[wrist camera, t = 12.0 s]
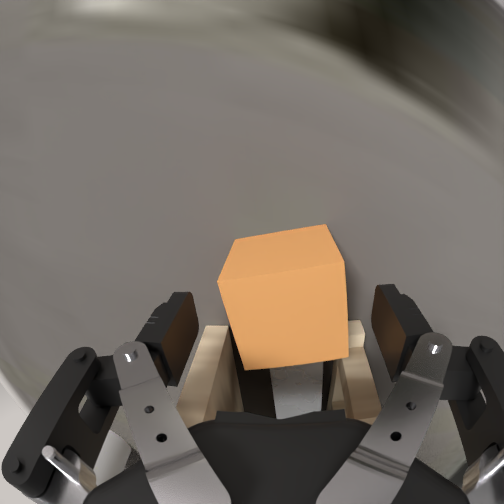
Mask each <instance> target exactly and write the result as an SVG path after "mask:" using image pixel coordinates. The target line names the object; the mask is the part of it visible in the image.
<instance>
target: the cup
mask: <svg viewBox="0 0 504 504" xmlns="http://www.w3.org/2000/svg"><path fill="white" fill-rule="evenodd" d="M130 452H131V447H130V446H129V444H128V443H127V442H126V441H125V440H124V439H123V438H121V437H120V436H119V435H117V434H116V433H114V432H113V431H111V430H109V432H108V434H107V437H106V439H105V442H104V444H103V446H102V449H101V451H100V454H99V456H98V459H97V461H96V464H95V467H94V469H93V471H94V472H95V475H96V485H97V486H98V485H100V484H102V483H104V482H105V481H107V480H109V479H111V478H112V477H114V476H116V475H117V474H119V473H121V472H122V471H123V469H124V467H125V465H126V462H127V460H128V457H129V455H130Z"/></svg>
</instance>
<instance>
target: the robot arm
mask: <svg viewBox="0 0 504 504" xmlns="http://www.w3.org/2000/svg"><path fill="white" fill-rule="evenodd" d="M371 322H372V328H373V331H374V334H375V336H376V339H377V342H378V344H379V347H380V350H381V352H382V355H383V358H384V360H385V363H386V366H387V369H388V372H389V375H390V378H391V380H392V382H396V381H397V383H396V385H395V386H394V388H393V390H392V392H391V394H390V396H389V397H388V399H387V401H386V403H385V404H384V406H383V408H382V410H381V411H380V413H379V415H378V416H377V418H376V420H375V421H374V423H373V424H372V425H370V424H368V423H366V422H363V421H360V420H357V419H352V418H346V415H345V409H339V410H327V411H313V412H310V413H306V414H302V415H298V416H294V417H289V418H285V419H275V418H270V417H266V416H261V415H257V414H252V413H248V412H228V411H217V413H216V417H215V419H214V420H208V421H204V422H201V423H198V424H195V425H193V426H191V427H189V428H187V427H186V426H185V424H184V422H183V420H182V418H181V416H180V415H179V413H178V411H177V409H176V407H175V405H174V403H173V401H172V399H171V397H170V395H169V393H168V391H167V389H166V388H167V385H168V386H176V387H177V386H178V383H179V381H180V378H181V376H182V373H183V370H184V368H185V365H186V363H187V360H188V358H189V355H190V352H191V350H192V347H193V345H194V342H195V340H196V337H197V335H198V330H199V323H198V317H197V313H196V309H195V304H194V300H193V296H192V293H191V292H174V293H173V294H172V296H171V297H170V299H169V300H168V302H167V303H163V304H161V305H160V306H159V307H157V308H156V309H155V310H154V312H153V313H152V315H151V318H149V319H148V321H147V323H146V324H145V325H144V327H143V329H142V330H141V332H140V333H139V335H138V336H137V338H136V339H135V341H132V342H128V343H125V344H123V345H121V346H119V347H118V348H117V349H116V350H115V352H114V354H113V355H111V356H102V357H97V355H96V353H95V351H94V350H93V349H92V348H90V347H81V348H78V349H76V350H74V351H73V352H71V353H70V354H69V355H68V357H67V358H66V359H65V361H64V362H63V364H62V365H61V366H60V368H59V369H58V371H57V372H56V374H55V375H54V377H53V378H52V380H51V381H50V383H49V384H48V386H47V387H46V389H45V390H44V392H43V393H42V395H41V396H40V398H39V399H38V401H37V402H36V404H35V406H34V407H33V409H32V410H31V412H30V414H29V415H28V417H27V419H26V420H25V422H24V424H23V425H22V427H21V429H20V431H19V432H18V434H17V436H16V438H15V439H14V441H13V443H12V444H11V447H10V448H9V450H8V452H7V454H6V456H5V458H4V459H3V462H2V474H3V476H4V478H5V479H6V481H7V482H9V483H10V484H11V485H13V486H14V487H15V488H17V489H18V490H19V491H21V492H22V493H23V494H24V495H25V496H26V497H28V498H29V499H31V500H33V501H34V502H36V503H37V504H504V352H503V351H502V349H501V348H500V346H499V345H498V343H497V342H496V341H495V340H493V339H492V338H490V337H487V336H477V337H475V338H474V339H473V340H472V341H471V344H470V346H469V347H461V346H452V343H451V341H450V340H449V339H448V338H447V337H446V336H444V335H442V334H440V333H435V332H433V330H432V329H431V327H430V326H429V324H428V322H427V321H426V319H425V318H424V316H423V314H421V311H420V310H419V308H418V307H417V305H416V304H415V302H414V301H413V300H412V299H411V298H409V297H408V296H407V295H405V294H400V293H399V291H398V290H397V288H396V287H395V285H394V284H385V285H377V286H376V289H375V295H374V303H373V309H372V316H371ZM481 389H482V391H483V393H484V395H485V397H486V403H485V401H484V399H483V396H482V394H481V392H480V390H481ZM84 395H86V396H87V400H86V402H85V404H84V406H83V408H82V410H81V411H80V413H79V412H78V407H79V404H80V402H81V400H82V398H83V397H84ZM439 400H448V402H449V405H450V407H451V410H452V413H453V416H454V419H455V422H456V425H457V428H458V431H459V435H460V438H461V441H462V444H463V448H464V451H465V455H466V459H467V463H468V467H469V468H468V469H467V470H466V472H465V474H464V477H463V486H462V489H460V488H459V487H458V486H456V485H455V484H453V483H452V482H450V481H449V480H447V479H446V478H444V477H443V476H442V475H440V474H439V473H437V472H436V471H434V470H433V469H431V468H430V467H429V466H427V465H426V464H424V463H423V462H421V461H420V460H419V459H417V458H416V457H415V456H416V454H417V452H418V450H419V448H420V446H421V444H422V441H423V439H424V437H425V435H426V432H427V430H428V428H429V425H430V423H431V420H432V418H433V415H434V413H435V410H436V407H437V404H438V402H439ZM119 406H123V408H124V411H125V414H126V418H127V421H128V424H129V427H130V430H131V432H132V435H133V438H134V441H135V444H136V446H137V449H138V451H139V454H140V457H141V460H140V461H138V462H137V463H135V464H134V465H132V466H130V467H129V468H127V469H126V470H124V471H122V472H121V473H119V474H117V475H116V476H114V477H112V478H111V479H109V480H107V481H105V482H104V483H102V484H100V485H98V486H97V485H96V475H95V472H94V471H93V469H94V467H95V464H96V461H97V459H98V456H99V454H100V451H101V449H102V446H103V444H104V442H105V439H106V437H107V434H108V432H109V430H110V427H111V425H112V423H113V420H114V418H115V416H116V413H117V411H118V409H119Z"/></svg>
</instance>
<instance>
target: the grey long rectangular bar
mask: <svg viewBox="0 0 504 504" xmlns="http://www.w3.org/2000/svg"><path fill="white" fill-rule="evenodd" d="M270 375H271V382H272V389H273V396H274V403H275V410H276V417H277V419H285V418H289V417H294V416H298V415H302V414H306V413H310V412H313V411H321V403H322V383H323V361H322V362H315V363H309V364H301V365H293V366H285V367H276V368H270Z"/></svg>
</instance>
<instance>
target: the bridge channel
mask: <svg viewBox="0 0 504 504" xmlns="http://www.w3.org/2000/svg"><path fill="white" fill-rule="evenodd" d="M364 339H365V332H364V329H363V327H362V324H361V321H360V320H353V321H348V346H349V357H346V358H340V359H335V360H334V361H333V369H332V377H331V384H330V391H329V398H328V404H327V410H339V409H345V415H346V418H352V419H357V420H360V421H363V422H366V423H368V424H370V425H372V424H373V423H374V421H375V420H376V418H377V416H378V415H379V413H380V411H381V410H382V408H381V405H380V401H379V397H378V394H377V390H376V387H375V383H374V380H373V377H372V373H371V370H370V367H369V363H368V360H367V357H366V354H365V351H364V348H363V344H364ZM176 409H177V411H178V413H179V415H180V416H181V418H182V420H183V422H184V424H185V426H186V427H187V428H189V427H191V426H193V425H195V424H198V423H201V422H204V421H208V420H214V419H215V417H216V413H217V411H228V412H244V408H243V403H242V398H241V393H240V387H239V382H238V377H237V371H236V366H235V360H234V355H233V349H232V343H231V338H230V332H229V326H206V327H205V330H204V333H203V335H202V338H201V341H200V343H199V346H198V349H197V352H196V354H195V357H194V360H193V362H192V365H191V368H190V370H189V373H188V376H187V379H186V381H185V384H184V387H183V390H182V392H181V395H180V398H179V401H178V403H177V406H176ZM327 410H326V411H327Z"/></svg>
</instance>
